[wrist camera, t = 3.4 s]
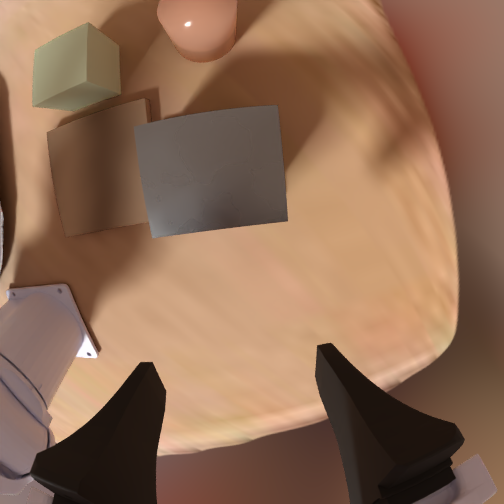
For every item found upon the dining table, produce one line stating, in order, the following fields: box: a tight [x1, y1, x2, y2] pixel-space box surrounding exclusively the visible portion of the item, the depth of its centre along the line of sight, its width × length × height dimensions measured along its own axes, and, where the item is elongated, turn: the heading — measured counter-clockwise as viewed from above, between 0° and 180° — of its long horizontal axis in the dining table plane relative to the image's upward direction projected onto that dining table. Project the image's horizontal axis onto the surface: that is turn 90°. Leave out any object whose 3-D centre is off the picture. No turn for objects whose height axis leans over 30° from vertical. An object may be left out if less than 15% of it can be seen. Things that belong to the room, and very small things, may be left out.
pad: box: [47, 98, 151, 237], centre depth 16 cm, size 8×8×1 cm
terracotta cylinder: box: [157, 0, 237, 62], centre depth 11 cm, size 4×4×5 cm
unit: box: [134, 105, 288, 238], centre depth 14 cm, size 7×6×6 cm
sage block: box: [32, 22, 121, 111], centre depth 11 cm, size 4×4×5 cm
